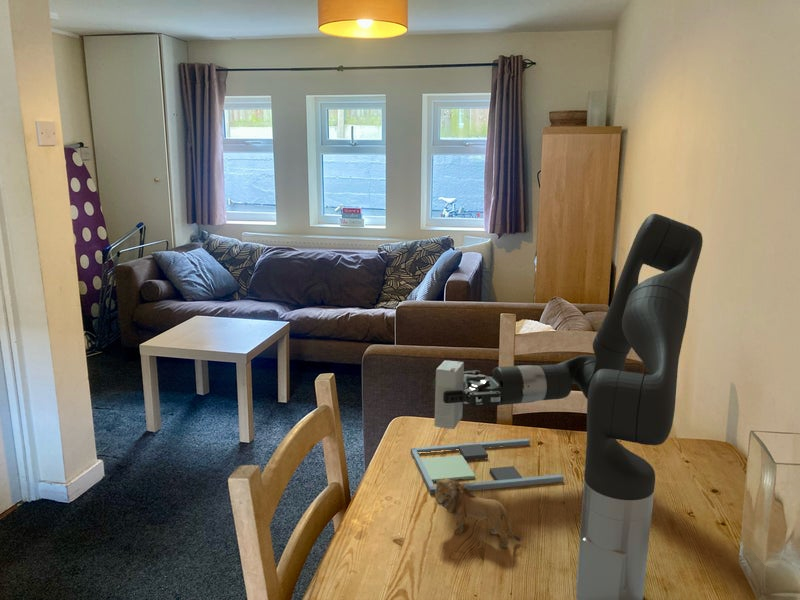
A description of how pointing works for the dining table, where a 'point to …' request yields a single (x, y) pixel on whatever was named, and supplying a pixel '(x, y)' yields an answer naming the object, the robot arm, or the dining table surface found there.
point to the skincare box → (448, 380)
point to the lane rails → (486, 483)
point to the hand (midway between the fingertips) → (438, 390)
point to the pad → (448, 468)
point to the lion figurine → (472, 508)
